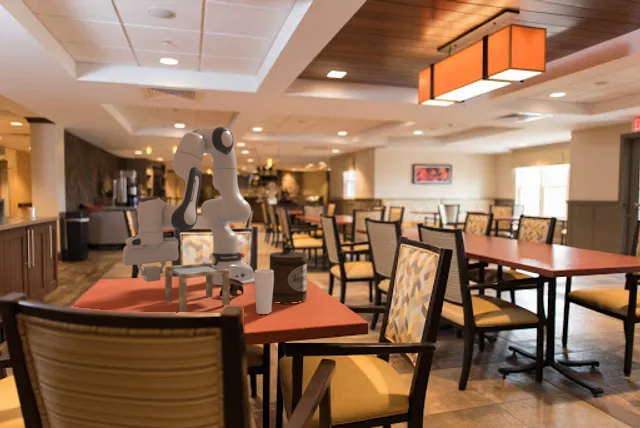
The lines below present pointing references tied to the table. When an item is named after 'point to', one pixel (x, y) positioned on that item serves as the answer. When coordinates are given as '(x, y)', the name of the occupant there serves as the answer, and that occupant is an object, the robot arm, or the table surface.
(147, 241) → the robot arm
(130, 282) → the table surface
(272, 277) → the tall white cup
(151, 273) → the block
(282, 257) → the wooden container
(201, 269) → the trapdoor
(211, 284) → the frame
